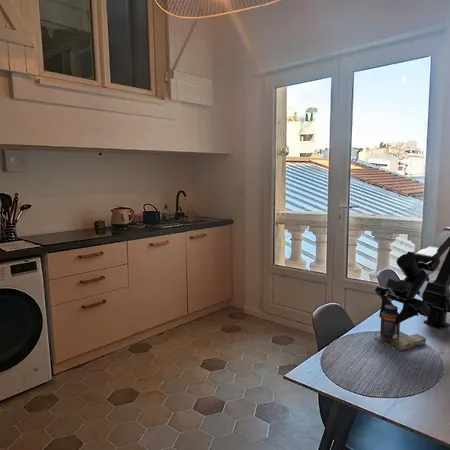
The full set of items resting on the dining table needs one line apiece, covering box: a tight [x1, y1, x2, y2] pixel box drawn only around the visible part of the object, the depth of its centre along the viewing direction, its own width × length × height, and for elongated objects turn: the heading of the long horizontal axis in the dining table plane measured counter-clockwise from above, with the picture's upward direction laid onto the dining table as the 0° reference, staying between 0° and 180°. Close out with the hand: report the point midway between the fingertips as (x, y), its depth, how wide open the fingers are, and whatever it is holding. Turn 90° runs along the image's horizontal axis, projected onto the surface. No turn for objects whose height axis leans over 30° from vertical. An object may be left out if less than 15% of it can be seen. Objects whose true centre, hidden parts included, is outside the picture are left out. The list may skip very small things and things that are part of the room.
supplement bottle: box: [379, 304, 401, 341], centre depth 127 cm, size 6×6×11 cm
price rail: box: [390, 333, 427, 352], centre depth 125 cm, size 12×4×2 cm, turn 115°
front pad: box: [374, 331, 410, 347], centre depth 130 cm, size 12×7×1 cm, turn 115°
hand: (387, 320), depth 127 cm, fingers closed on supplement bottle, 6 cm apart
